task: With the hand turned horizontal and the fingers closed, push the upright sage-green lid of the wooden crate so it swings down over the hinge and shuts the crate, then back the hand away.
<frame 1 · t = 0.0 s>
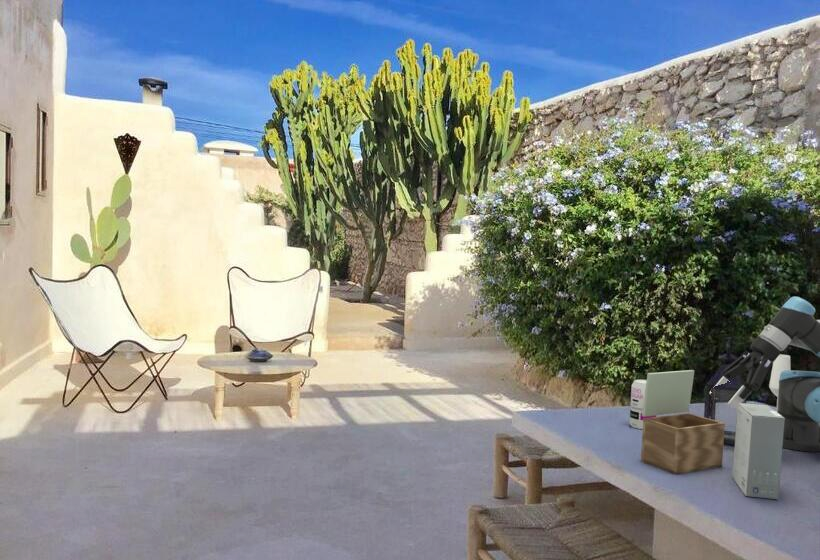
hand: (722, 401, 216), 15 cm above the table, tool tilted 35°, fingers open, 13 cm apart
hard drive box: (754, 489, 186), on the table
supplement can: (642, 427, 244), on the table
lid: (668, 392, 208), point 19 cm above the table, hinge at 85.0°
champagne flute: (777, 425, 254), on the table
crate: (681, 464, 204), on the table
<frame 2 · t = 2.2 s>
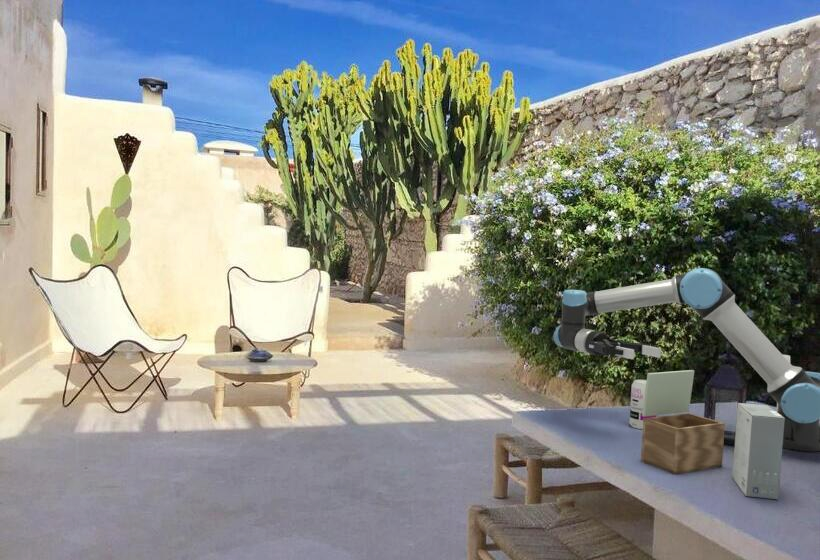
hand: (646, 353, 216), 28 cm above the table, tool horizontal, fingers open, 10 cm apart
nothing on the table moved.
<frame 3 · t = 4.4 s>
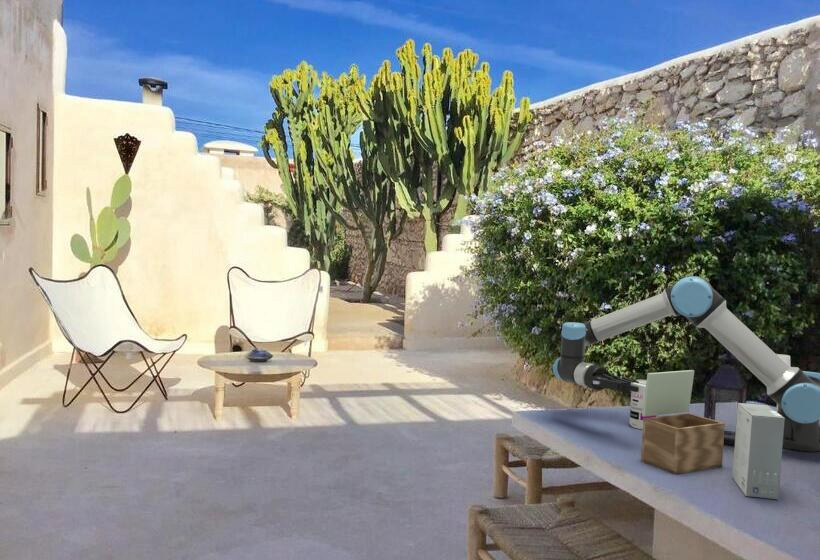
hand: (649, 391, 214), 17 cm above the table, tool horizontal, fingers closed
nothing on the table moved.
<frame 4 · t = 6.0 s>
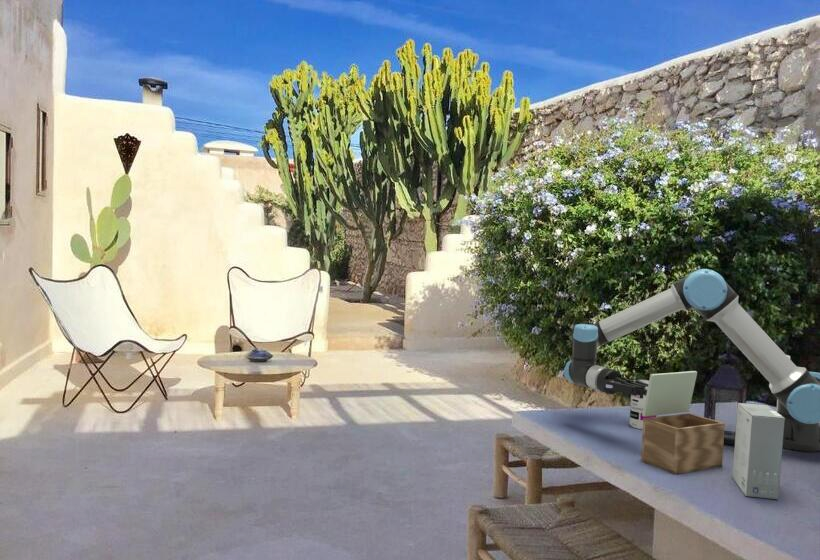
hand: (664, 396, 208), 18 cm above the table, tool horizontal, fingers closed
lid: (670, 393, 208), point 18 cm above the table, hinge at 80.0°, touching gripper
everything else where it was.
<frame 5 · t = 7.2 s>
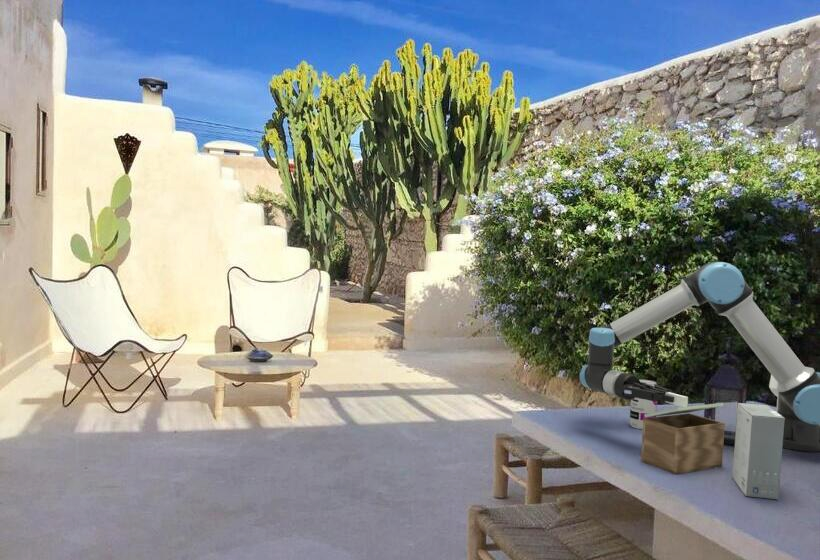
hand: (685, 402, 202), 18 cm above the table, tool horizontal, fingers closed
lid: (683, 410, 204), point 15 cm above the table, hinge at 21.6°, touching gripper
everything else where it was.
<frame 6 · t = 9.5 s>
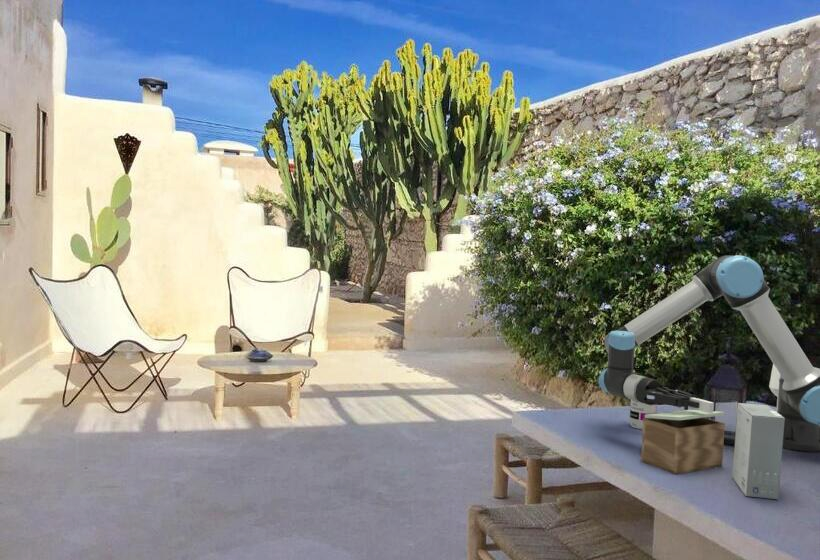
hand: (711, 407, 196), 17 cm above the table, tool horizontal, fingers closed
lid: (684, 414, 203), point 14 cm above the table, hinge at 10.0°
everything else where it was.
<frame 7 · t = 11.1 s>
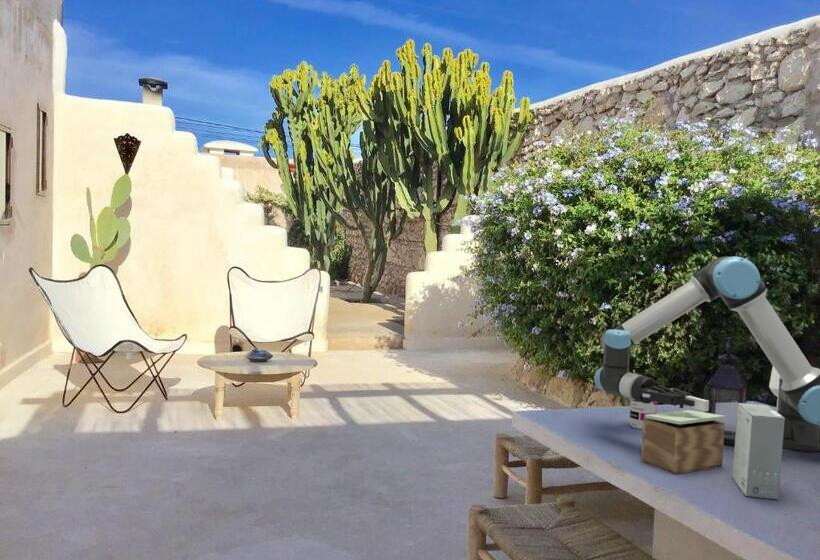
hand: (706, 406, 197), 18 cm above the table, tool horizontal, fingers closed
lid: (684, 416, 203), point 13 cm above the table, hinge at 5.1°
everything else where it was.
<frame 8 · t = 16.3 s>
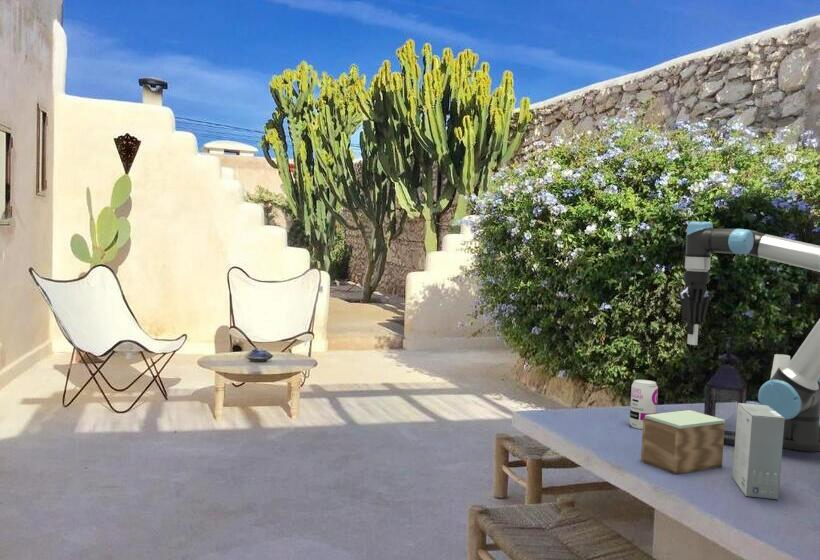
hand: (692, 344, 238), 28 cm above the table, tool pointing down, fingers closed
lid: (684, 418, 203), point 13 cm above the table, hinge at -0.1°
everything else where it was.
at the end: lid at +0° (first picture: +85°) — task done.
